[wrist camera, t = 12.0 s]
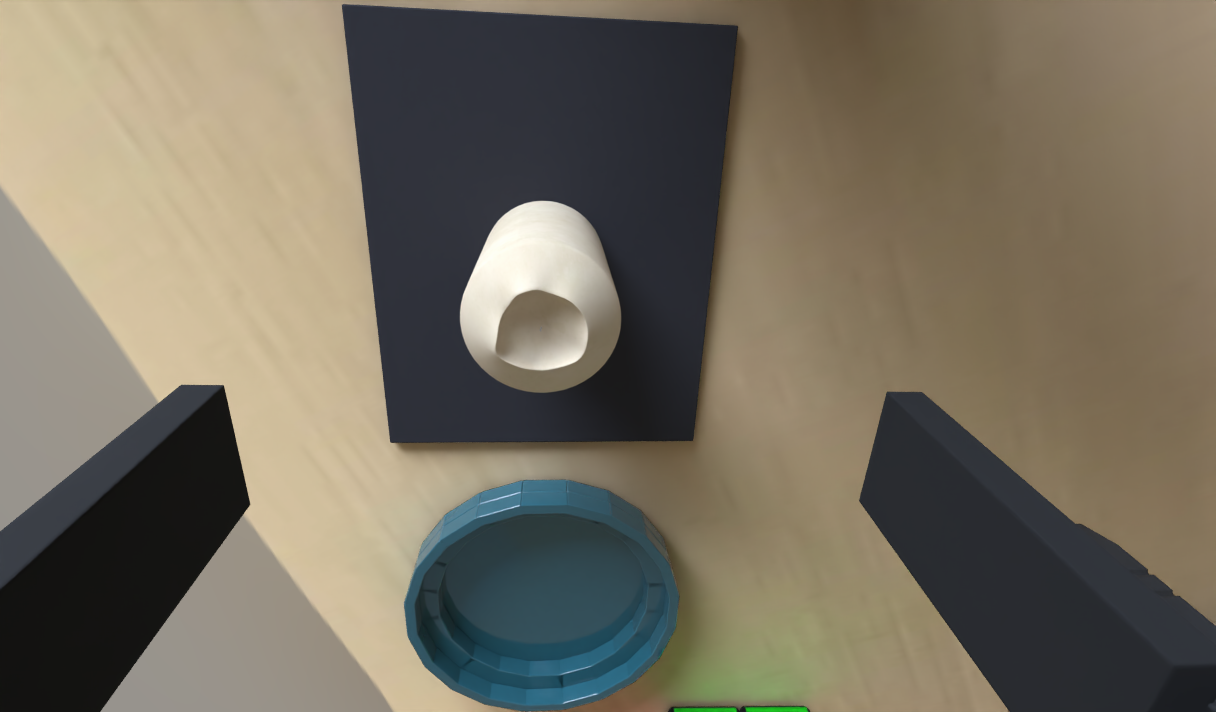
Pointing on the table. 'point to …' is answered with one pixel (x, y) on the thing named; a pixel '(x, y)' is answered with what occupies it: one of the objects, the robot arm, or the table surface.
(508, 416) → the mat
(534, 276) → the candle
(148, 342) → the table surface
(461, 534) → the dish
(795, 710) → the puzzle cube
